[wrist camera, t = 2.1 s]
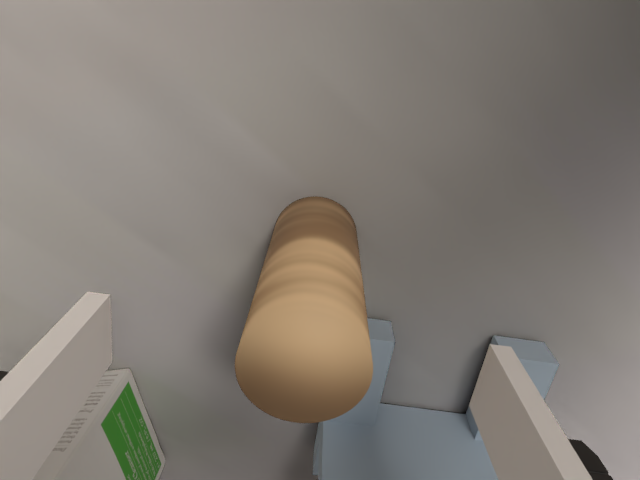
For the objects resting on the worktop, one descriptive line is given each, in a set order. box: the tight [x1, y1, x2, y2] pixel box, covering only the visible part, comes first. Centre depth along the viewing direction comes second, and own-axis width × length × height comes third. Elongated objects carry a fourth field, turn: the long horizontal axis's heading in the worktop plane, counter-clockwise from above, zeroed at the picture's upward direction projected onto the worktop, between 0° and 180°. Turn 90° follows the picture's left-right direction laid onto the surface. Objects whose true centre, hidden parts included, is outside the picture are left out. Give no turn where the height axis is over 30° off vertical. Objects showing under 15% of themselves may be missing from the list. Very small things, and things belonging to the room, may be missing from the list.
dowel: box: [235, 197, 373, 423], centre depth 20 cm, size 4×4×11 cm
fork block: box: [313, 318, 559, 480], centre depth 25 cm, size 10×12×8 cm
